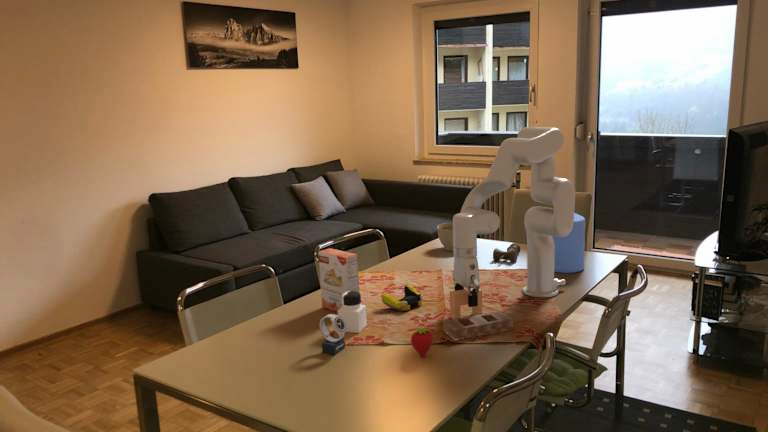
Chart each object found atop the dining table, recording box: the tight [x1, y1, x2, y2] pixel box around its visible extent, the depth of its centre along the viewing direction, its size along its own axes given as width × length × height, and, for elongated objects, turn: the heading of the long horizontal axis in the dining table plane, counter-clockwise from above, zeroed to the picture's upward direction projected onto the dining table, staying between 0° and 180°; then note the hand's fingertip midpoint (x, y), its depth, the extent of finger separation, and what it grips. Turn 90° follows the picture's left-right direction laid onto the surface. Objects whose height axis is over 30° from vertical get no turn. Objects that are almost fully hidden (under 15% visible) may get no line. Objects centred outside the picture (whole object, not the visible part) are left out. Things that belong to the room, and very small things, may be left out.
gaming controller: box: [381, 284, 424, 312], centre depth 217 cm, size 15×6×10 cm
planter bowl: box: [436, 222, 453, 252], centre depth 287 cm, size 16×16×11 cm
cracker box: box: [317, 247, 360, 313], centre depth 214 cm, size 14×6×21 cm, turn 47°
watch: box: [319, 313, 347, 356], centre depth 182 cm, size 6×8×11 cm
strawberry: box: [410, 322, 433, 358], centre depth 175 cm, size 6×8×10 cm
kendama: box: [492, 243, 521, 264], centre depth 268 cm, size 6×10×20 cm
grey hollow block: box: [442, 310, 514, 339], centre depth 192 cm, size 20×8×4 cm, turn 109°
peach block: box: [449, 288, 483, 320], centre depth 204 cm, size 10×4×9 cm, turn 109°
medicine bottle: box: [337, 291, 368, 334], centre depth 198 cm, size 7×7×12 cm
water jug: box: [552, 212, 586, 274], centre depth 249 cm, size 16×16×28 cm
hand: (466, 301), depth 203 cm, fingers open, 9 cm apart
